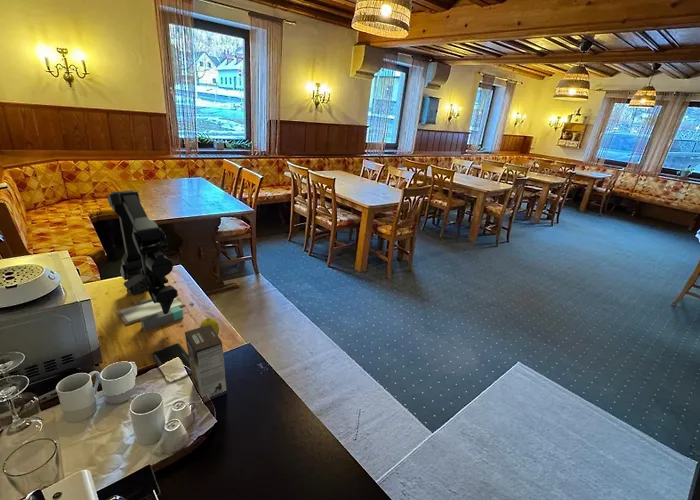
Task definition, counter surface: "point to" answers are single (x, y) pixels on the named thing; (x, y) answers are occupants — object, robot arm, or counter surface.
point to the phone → (171, 355)
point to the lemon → (211, 322)
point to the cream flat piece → (144, 310)
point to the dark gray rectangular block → (161, 318)
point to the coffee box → (206, 360)
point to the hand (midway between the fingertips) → (160, 308)
